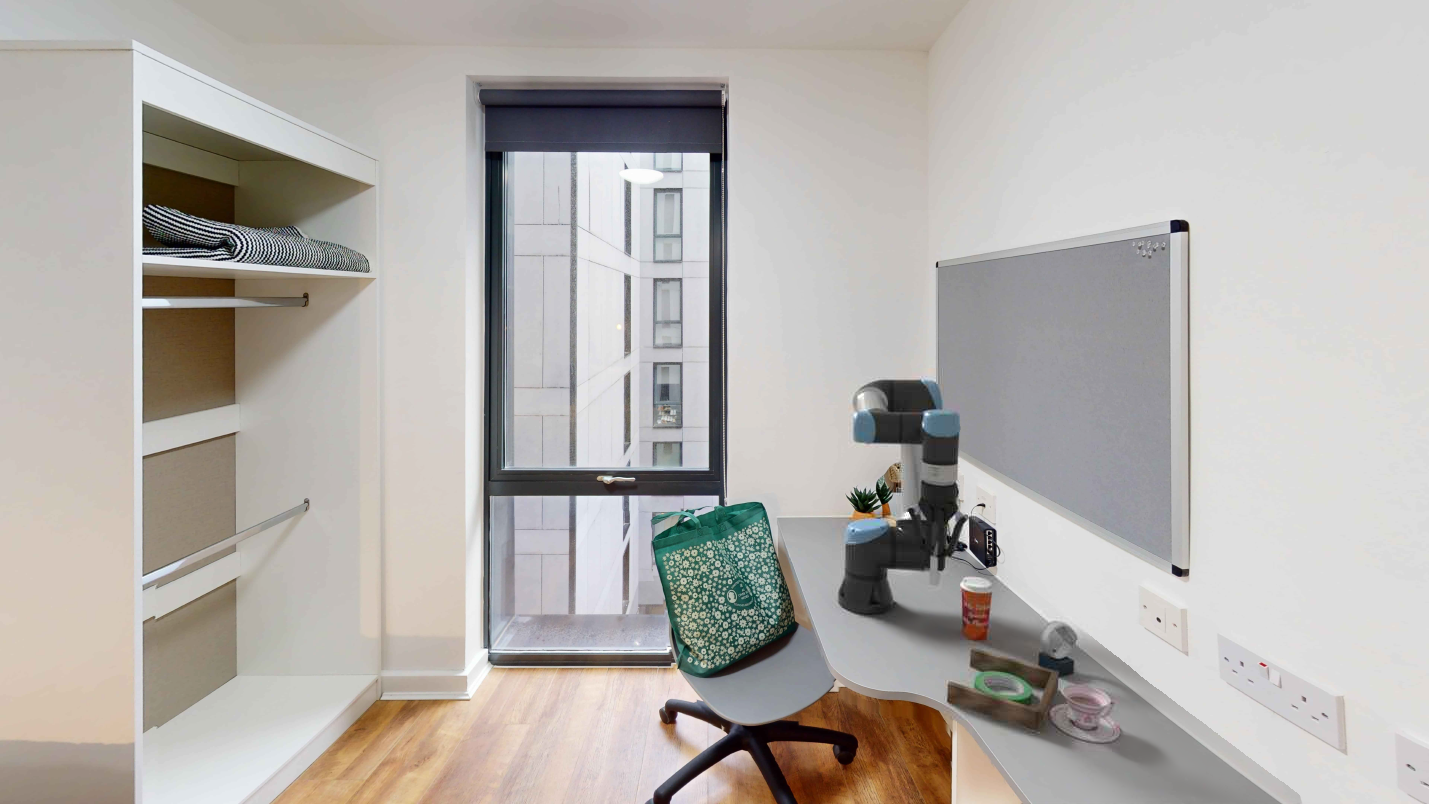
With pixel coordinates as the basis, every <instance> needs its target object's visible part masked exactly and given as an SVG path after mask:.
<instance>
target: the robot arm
mask: <svg viewBox="0 0 1429 804" xmlns="http://www.w3.org/2000/svg"><path fill="white" fill-rule="evenodd" d="M852 406H853V409H854V414H853V416H852V417H853V418H852V439H853V441H854V442H855V443H857V444H858V443H859V444H866V445H871V444H876V445H879V444H880V445H884V444H885V445H900V484H901V485H900V486H901V487H900V489H901V490H900V492H901V494H900V498H901V502H900V503H901V508H900V509H901V514H900V515H899V516H898V518H896V519H895V526H894V525H893V526H891V525H890V523H889V521H887V519H884V518H877V517H876V518H874V517H872V518H871V517H869V518H861V519H857V520H855V521H851V522H850V523H849V524H848V525H847V526H846V527H845V528H846V529H845V538H844V544H845V546H844V547H845V548H844V549H845V552H844V574H843V578H842V579H841V583H840V586H839V589H838V593H837V602H838V604H839V606H841V607H842V608H844V609H846V610H847V611H850V612H853V613H857V614H864V615H878V614H879V615H881V614H883V613H884V614H885V613H887V612H890V611H891V610H892V609H893V608H894V596H893V595H894V594H893V592H892V589H891V586H890V585H891V584H890V581H889V579H888V572H889V571H888V570H893V571H894V570H896V571H897V570H899V571H911V572H912V571H915V572H922V573H925V572H929V585H932V586H934V587H935V586H936V587H937V586H938V585H939V583H940V582H941V572H943V571H944V570H945V568H946V558H947V557H948V558H949V557H952V556H953V555H954V554H955V552H956V549H957V546H958V542H959V539H960V536H961V534H962V531H963V527H964V525H965V523H966V522H967V521H968V520H969V515H968V514H964V513H962V512H961V511H960V510H959V506H958V504H957V503H958V502H957V497H958V496H957V493H958V484H957V483H956V482H957V481H958V471H959V470H958V469H959V447H960V446H959V445H960V444H959V443H960V432H961V425H960V421H961V420H960V415H959V413H958V412H957V411H953V410H949V409H943V407H944V406H943V398H942V394H941V389H940V387H939V385H938V384H937V382H935V381H934V380H928V379H921V378H919V379H879V380H878V379H877V380H874V381H871V382H869V383H866V384H864V385H863V386H861V387H860V388H859V389H858V390H857V391H856V392H855V394H854V395H853V399H852ZM954 516H955V518H954V520H955V525H954V527H953V530H952V533H951V536H950V539H949V542H948V525H949V521H950V520H951V519H952V518H953V517H954ZM947 544H948V546H947ZM892 607H893V608H892Z"/></svg>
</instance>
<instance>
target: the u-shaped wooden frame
mask: <svg viewBox="0 0 1429 804" xmlns="http://www.w3.org/2000/svg"><path fill="white" fill-rule="evenodd" d="M969 657H970V658H969V660H970V661H969V667H971V668H975V669H978V670H982V671H983V672H986V671H996V672H1003V673H1007V674H1011V675H1014V676H1016V677H1018V678H1020V679H1022V680H1024V681H1025V682H1026V683H1028V684H1029V685H1032V686H1035V687H1038V688H1041V689H1044V691H1043V693H1042V695H1041V698H1040V701H1039V704H1038V706H1037V708H1035V707H1033V706H1031V705H1030V706H1027V705H1024V704H1020V703H1017V702H1014V701H1011V700H1008V699H1005V698H1001V697H998V696H995V695H992V694H989V693H985V692H982V691H979V690H976V689H974V688H972V687H969V686H966V685H964V684H963V685H962V684H959V683H956V682H954V681H948V683H947V694H946V695H947V697H946V703H948V702H949V704H951V703H952V705H954V704H955V705H956V706H957V705H959V706H958V707H960V706H961V708H964V709H966V708H967V710H970V711H973V712H976V713H978V714H982V715H985V716H987V717H990V718H994V719H998V720H1000V721H1002V720H1003V722H1006V723H1008V722H1009V724H1011V723H1012V724H1011V725H1014V724H1015V725H1014V726H1017V725H1019V726H1018V727H1020V726H1022V727H1021V728H1023V727H1025V728H1024V729H1026V728H1028V729H1027V730H1029V729H1031V730H1030V731H1032V730H1034V731H1033V732H1035V731H1036V733H1038V732H1040V733H1039V734H1041V733H1042V734H1043V731H1044V729H1045V726H1046V724H1047V723H1046V722H1047V720H1048V718H1049V716H1050V715H1049V711H1050V710H1051V709H1052V706H1053V704H1054V701H1055V698H1056V696H1057V692H1058V690H1059V678H1060V677H1059V672H1058V671H1054V670H1051V669H1047V668H1043V667H1040V666H1039V665H1036V664H1032V663H1029V662H1025V661H1021V660H1017V659H1014V658H1010V657H1008V656H1007V657H1006V656H1003V655H1000V654H996V653H992V652H989V651H986V650H982V649H978V648H974V647H971V648H970V655H969ZM955 705H954V706H955Z"/></svg>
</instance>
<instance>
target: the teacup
mask: <svg viewBox="0 0 1429 804" xmlns="http://www.w3.org/2000/svg"><path fill="white" fill-rule="evenodd" d="M1060 692H1061V693H1060V694H1062V695H1063V697H1064V699H1065V700H1066V703H1062V704H1057V705H1054V706H1053V707H1051V710H1050V711H1049V715H1048V716H1049V719H1050V721H1051V722H1052V724H1053V725H1054V726H1055V727H1056V728H1058V729H1059V730H1060V731H1062V732H1064V733H1066V734H1067V735H1068V736H1071V737H1073V738H1077V739H1079V740H1081V741H1086V742H1091V743H1100V744H1106V743H1111V742H1114V741H1116V740H1118V739H1119V736H1120V735H1121V730H1120V726H1119V725H1118V724H1117V722H1116V721H1115V720H1114V719H1112V718H1111V717H1110V716H1109V715H1111V714H1112V713H1113V710H1114V706H1115V702H1114V701H1112V699H1111V698H1110V696H1109V695H1108V694H1107V693H1105V692H1103V691H1101V689H1099V688H1094V686H1093V687H1092V686H1088V685H1084V684H1078V683H1077V684H1075V683H1074V684H1073V683H1072V684H1065V685H1063V686H1061V688H1060ZM1108 706H1110V707H1109V709H1108V710H1107V711H1106V712H1105V713H1103V712H1104V711H1105V709H1107V708H1108ZM1067 712H1068V713H1067ZM1068 715H1069V717H1070V718H1069V717H1068ZM1071 721H1073V723H1074V724H1072V722H1071ZM1066 722H1067V723H1066ZM1075 725H1076V726H1077V727H1076V726H1075ZM1096 727H1097V729H1095V730H1093V728H1096Z"/></svg>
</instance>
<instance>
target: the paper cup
mask: <svg viewBox="0 0 1429 804" xmlns="http://www.w3.org/2000/svg"><path fill="white" fill-rule="evenodd" d="M959 586H960V588H961V611H962V612H961V613H962V614H961V615H962V616H961V617H962V635H963V636H964V637H965V638H967V639H968V640H970V641H971V640H972V641H976V642H978V641H979V642H982V641H985V640H987V638H988V631H989V622H990V614H991V604H992V597H993V596H992V594H993V592H994V591H995V587H994V585H993V584H992V582H991V581H990V580H988V579H986V578H984V577H980V576H979V577H978V576H966V577H963V578H962V580H961V582H960V584H959Z"/></svg>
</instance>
